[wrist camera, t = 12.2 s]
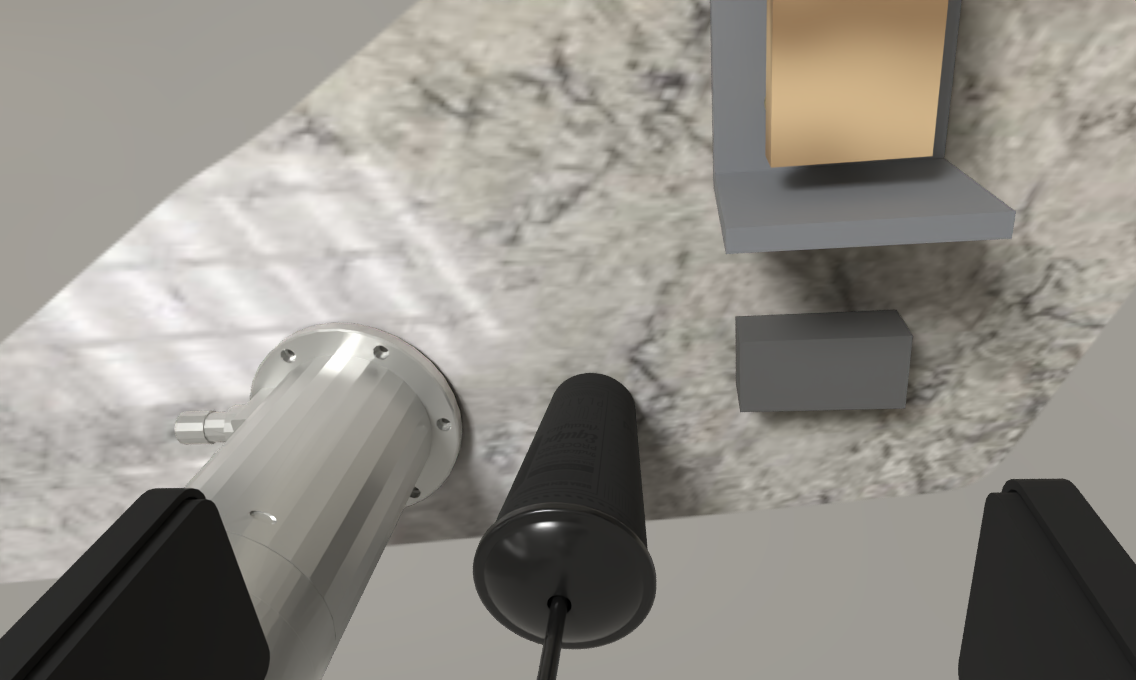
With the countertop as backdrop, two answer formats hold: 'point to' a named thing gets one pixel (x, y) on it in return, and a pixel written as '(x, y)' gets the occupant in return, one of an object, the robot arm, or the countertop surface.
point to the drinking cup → (572, 528)
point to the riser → (822, 361)
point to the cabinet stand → (829, 165)
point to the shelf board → (852, 79)
